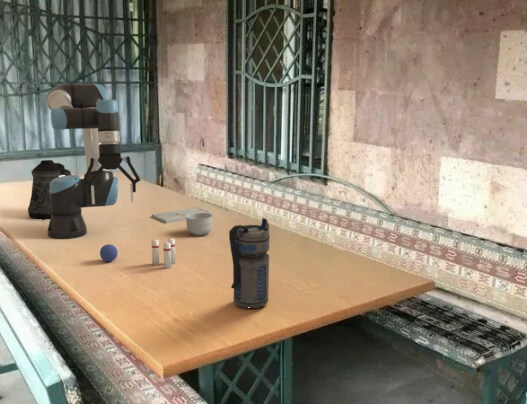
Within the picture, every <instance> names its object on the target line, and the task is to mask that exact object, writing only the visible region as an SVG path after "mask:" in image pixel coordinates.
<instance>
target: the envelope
mask: <svg viewBox="0 0 527 404" xmlns="http://www.w3.org/2000/svg"><path fill="white" fill-rule="evenodd" d="M199 212H203V213H210V214H212V217H213V216H214V213H213V211H209V210H207V209H204V208H202V207H198V206H196V207H189V208H183V209H177V210H171V211H165V212H157V213H152V214H151V218H153V219H155V220H157V221H160V222H162V223H165V224H171V223H177V222H184V221H186V216H187V215H189V214H192V213H199Z"/></svg>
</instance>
